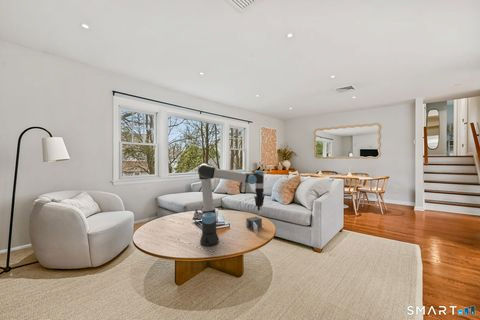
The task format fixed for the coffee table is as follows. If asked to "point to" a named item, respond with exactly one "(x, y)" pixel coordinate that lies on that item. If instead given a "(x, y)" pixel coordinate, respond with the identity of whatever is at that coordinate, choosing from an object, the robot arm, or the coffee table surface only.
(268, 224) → the coffee table surface
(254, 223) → the side door
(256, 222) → the camera body
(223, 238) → the coffee table surface
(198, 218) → the sign
